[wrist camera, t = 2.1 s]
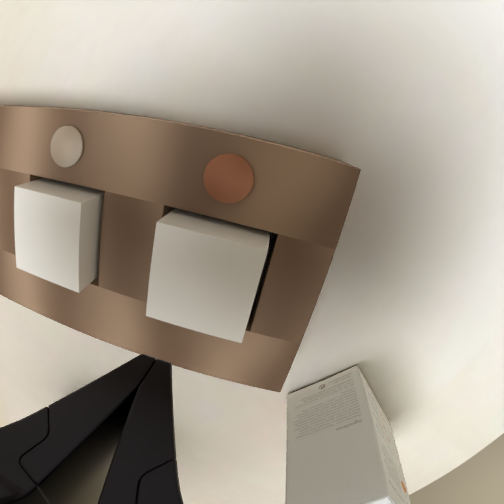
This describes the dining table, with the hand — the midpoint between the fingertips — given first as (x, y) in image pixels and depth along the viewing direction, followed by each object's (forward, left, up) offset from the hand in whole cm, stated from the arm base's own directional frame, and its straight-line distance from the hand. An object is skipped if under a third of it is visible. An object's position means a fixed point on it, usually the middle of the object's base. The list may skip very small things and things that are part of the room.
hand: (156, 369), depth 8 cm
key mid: (+5, +6, -8) cm, 11 cm away
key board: (+5, +6, -11) cm, 13 cm away
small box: (-15, -3, -11) cm, 19 cm away
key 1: (0, 0, -8) cm, 8 cm away
